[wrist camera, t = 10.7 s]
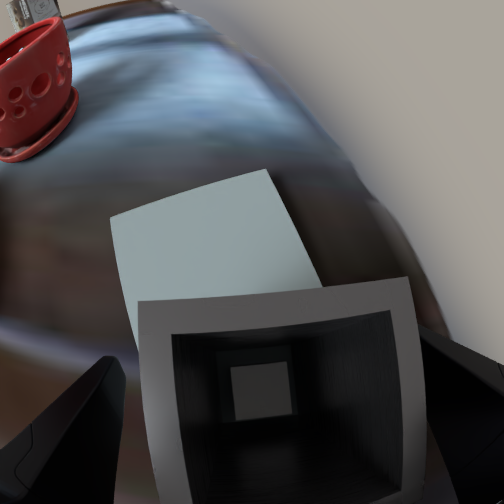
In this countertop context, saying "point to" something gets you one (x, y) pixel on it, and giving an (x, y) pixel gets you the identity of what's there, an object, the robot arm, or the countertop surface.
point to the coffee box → (32, 12)
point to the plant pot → (35, 89)
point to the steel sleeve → (307, 395)
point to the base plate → (220, 274)
